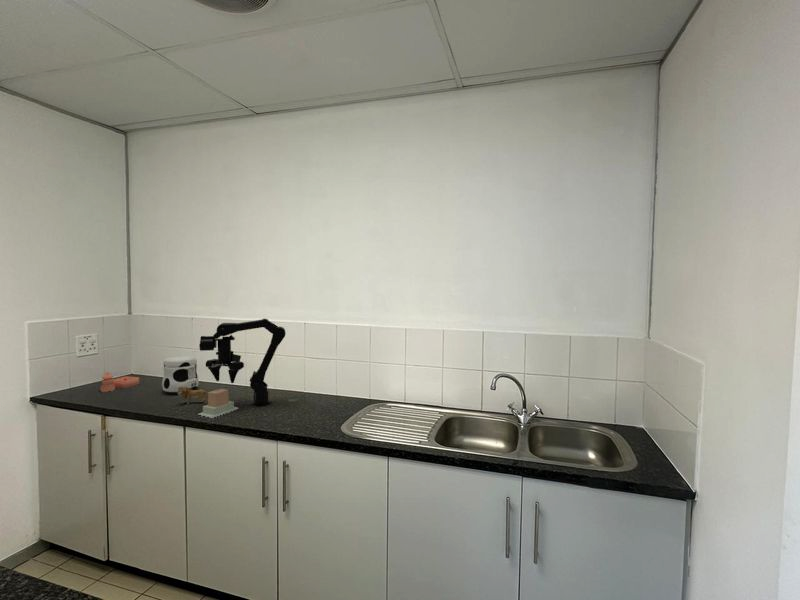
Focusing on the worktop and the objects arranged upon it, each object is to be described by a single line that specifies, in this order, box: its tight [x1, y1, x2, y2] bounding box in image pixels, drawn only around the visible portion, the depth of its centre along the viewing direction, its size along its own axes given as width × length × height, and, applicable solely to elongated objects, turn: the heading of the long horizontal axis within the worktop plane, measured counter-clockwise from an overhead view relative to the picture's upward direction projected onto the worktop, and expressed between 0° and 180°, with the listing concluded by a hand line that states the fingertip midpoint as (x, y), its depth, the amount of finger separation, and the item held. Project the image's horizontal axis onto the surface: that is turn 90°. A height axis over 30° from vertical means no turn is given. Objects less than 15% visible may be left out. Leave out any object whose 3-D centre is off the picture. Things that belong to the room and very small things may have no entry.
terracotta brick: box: [207, 388, 230, 407], centre depth 179 cm, size 5×7×6 cm
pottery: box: [99, 372, 140, 393], centre depth 217 cm, size 18×10×10 cm, turn 165°
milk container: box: [161, 355, 199, 394], centre depth 212 cm, size 17×17×18 cm
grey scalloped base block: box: [198, 400, 239, 419], centre depth 179 cm, size 9×14×4 cm, turn 155°
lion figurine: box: [177, 386, 208, 405], centre depth 192 cm, size 15×5×9 cm, turn 112°
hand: (225, 382), depth 186 cm, fingers open, 9 cm apart
